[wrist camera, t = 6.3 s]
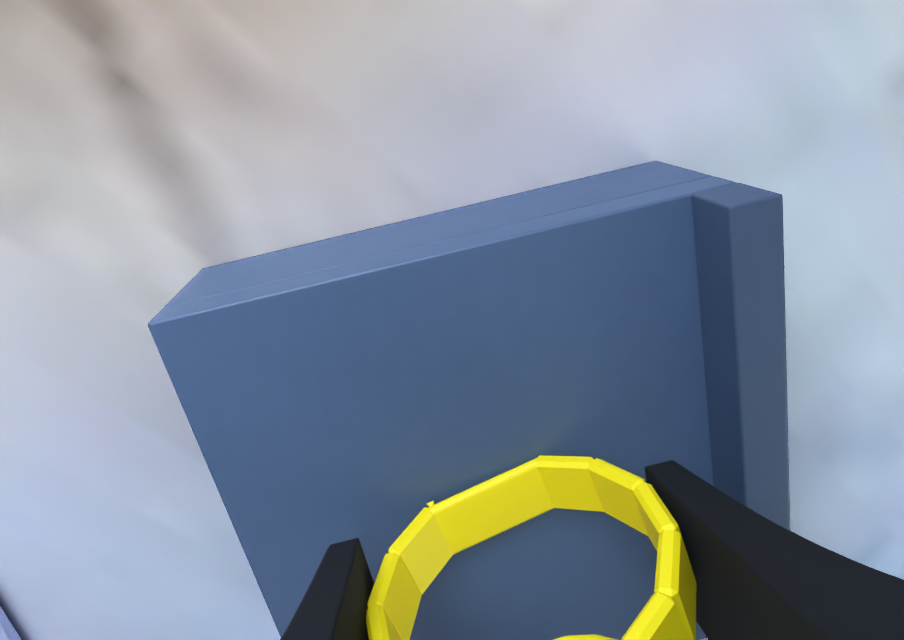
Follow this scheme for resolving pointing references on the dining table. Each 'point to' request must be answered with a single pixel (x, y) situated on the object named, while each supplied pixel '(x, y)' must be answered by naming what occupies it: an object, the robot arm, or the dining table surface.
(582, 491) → the watch
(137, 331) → the dining table surface
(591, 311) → the blue stand
